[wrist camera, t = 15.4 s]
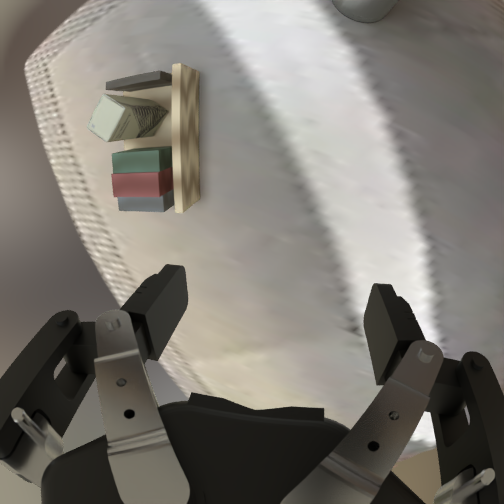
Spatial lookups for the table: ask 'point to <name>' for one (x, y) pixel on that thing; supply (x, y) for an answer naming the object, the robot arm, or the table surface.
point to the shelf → (161, 145)
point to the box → (126, 118)
